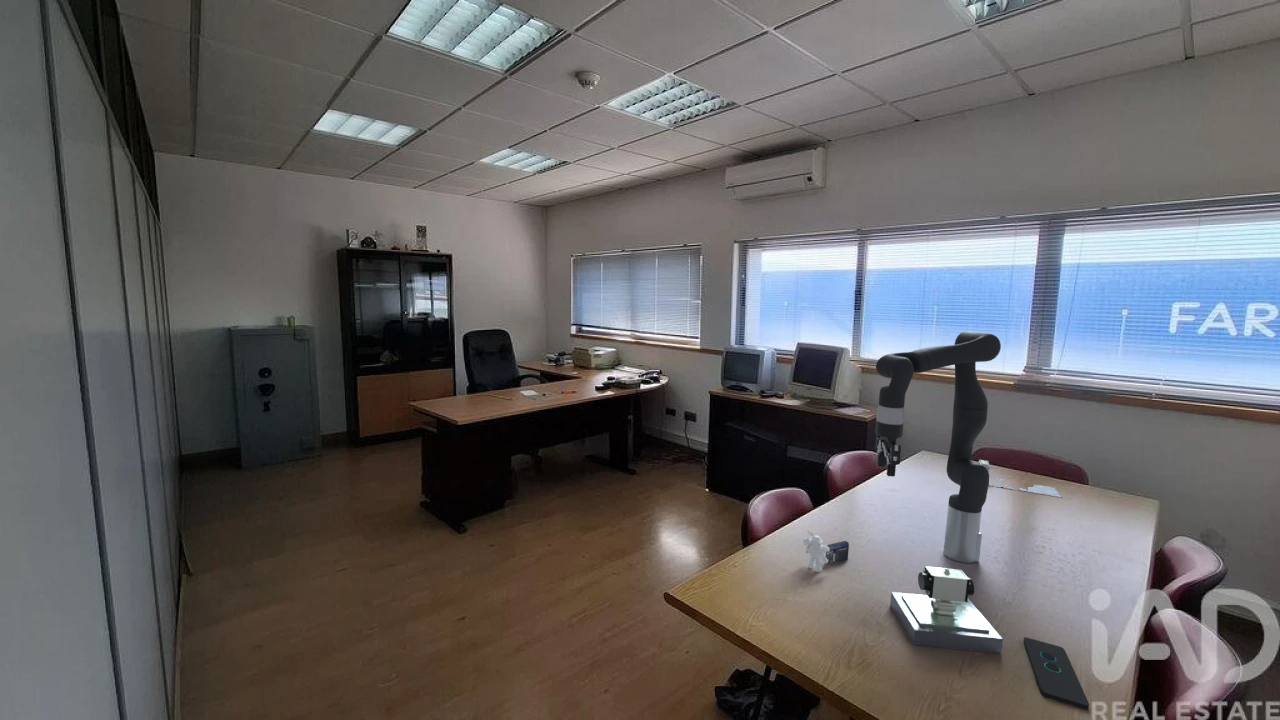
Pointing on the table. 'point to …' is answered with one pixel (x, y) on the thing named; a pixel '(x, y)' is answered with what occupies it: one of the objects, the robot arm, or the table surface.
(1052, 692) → the smart home device
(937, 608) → the pneumatic valve
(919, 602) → the grey picture frame
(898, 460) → the robot arm
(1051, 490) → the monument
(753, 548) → the table surface
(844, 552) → the mini dv tape
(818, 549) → the hat wearing toy figure
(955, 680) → the table surface
